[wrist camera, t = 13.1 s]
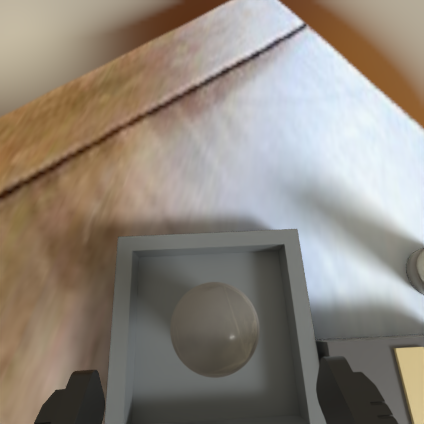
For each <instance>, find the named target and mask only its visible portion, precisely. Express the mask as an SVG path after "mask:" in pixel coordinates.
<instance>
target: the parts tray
mask: <svg viewBox="0 0 424 424" xmlns="http://www.w3.org/2000/svg"><path fill="white" fill-rule="evenodd" d="M208 282H221V283H226V284H229V285H231V286H234V287H235V288H237V289H239V290H240V291H241V292H243V293H244V294H245V295H246V296H247V297H248V299H249V300H250V301H251V303H252V304H253V306H254V308H255V311H256V313H257V316H258V321H259V339H258V344H257V347H256V350H255V352H254V354H253V356H252V357H251V359H250V360H249V361H248V362H247V364H246V365H245V366H244V367H242V368H241V369H240V370H238V371H237V372H235V373H233V374H231V375H228V376H225V377H219V378H211V377H205V376H202V375H199V374H197V373H195V372H193V371H191V370H190V369H189V368H187V367H186V366H185V365H184V364H183V363H182V361H181V360H180V359H179V357H178V356H177V354H176V352H175V350H174V348H173V345H172V341H171V335H170V325H171V318H172V315H173V312H174V309H175V307H176V305H177V304H178V302H179V300H180V299H181V298H182V297H183V296H184V295H185V294H186V293H187V292H188V291H189V290H191V289H192V288H194V287H196V286H198V285H200V284H204V283H208ZM318 371H319V360H318V353H317V347H316V341H315V335H314V329H313V323H312V316H311V310H310V304H309V298H308V292H307V286H306V279H305V273H304V267H303V261H302V255H301V249H300V242H299V236H298V230H297V229H283V230H261V231H238V232H216V233H193V234H171V235H148V236H126V237H118V244H117V258H116V272H115V286H114V300H113V314H112V328H111V342H110V355H109V369H108V383H107V397H106V411H105V424H327V423H326V421H325V418H324V415H323V413H322V410H321V408H320V405H319V402H318V398H317V393H316V383H317V377H318Z"/></svg>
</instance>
